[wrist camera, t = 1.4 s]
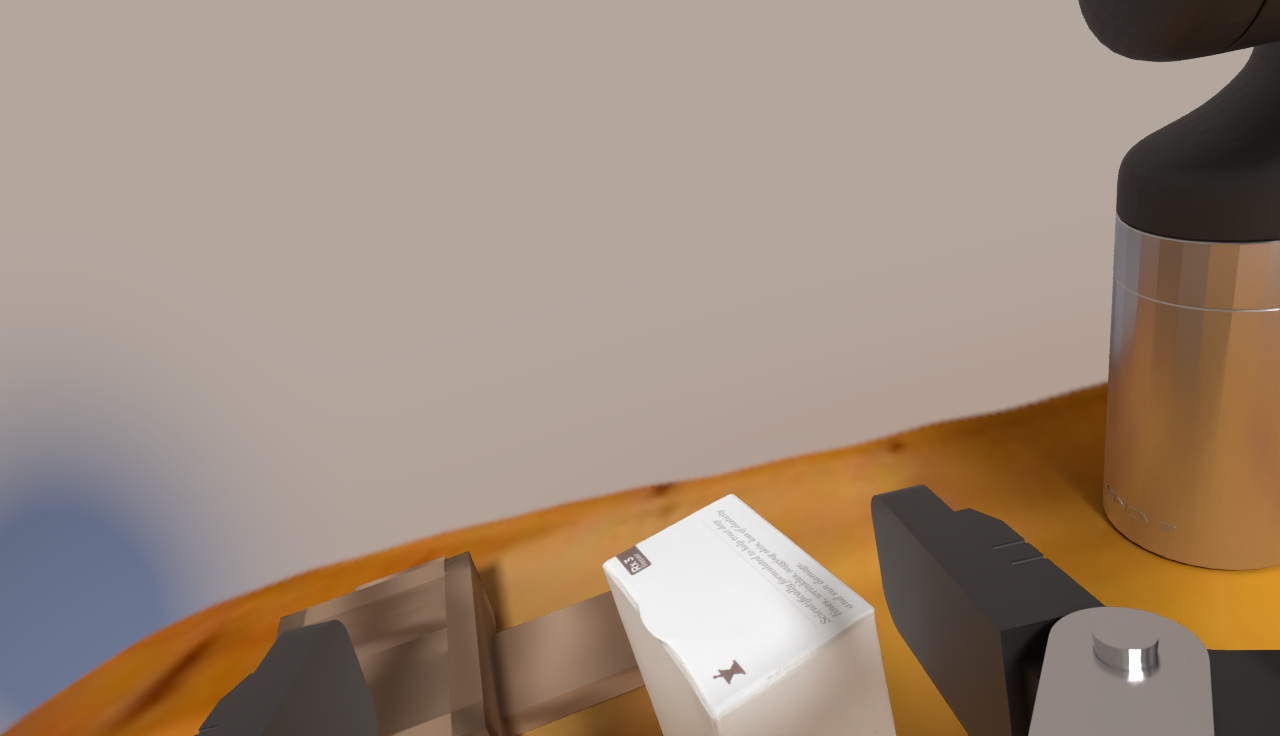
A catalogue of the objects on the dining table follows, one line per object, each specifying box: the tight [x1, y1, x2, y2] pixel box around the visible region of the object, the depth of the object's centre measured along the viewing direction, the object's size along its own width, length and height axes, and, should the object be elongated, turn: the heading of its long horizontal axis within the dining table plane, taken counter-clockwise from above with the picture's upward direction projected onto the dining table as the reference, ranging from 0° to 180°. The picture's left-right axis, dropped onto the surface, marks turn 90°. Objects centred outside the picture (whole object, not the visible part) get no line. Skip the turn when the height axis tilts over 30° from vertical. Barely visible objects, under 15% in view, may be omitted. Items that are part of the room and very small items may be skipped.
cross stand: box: [275, 551, 645, 736], centre depth 39 cm, size 26×24×5 cm
